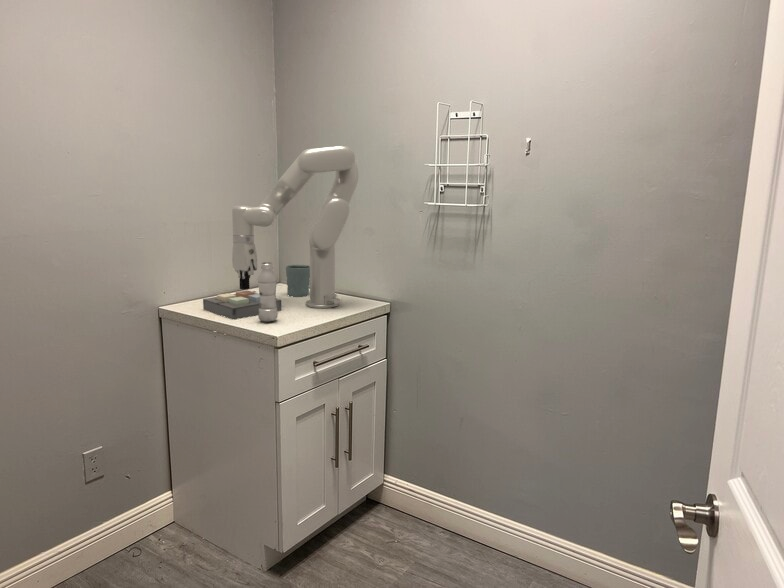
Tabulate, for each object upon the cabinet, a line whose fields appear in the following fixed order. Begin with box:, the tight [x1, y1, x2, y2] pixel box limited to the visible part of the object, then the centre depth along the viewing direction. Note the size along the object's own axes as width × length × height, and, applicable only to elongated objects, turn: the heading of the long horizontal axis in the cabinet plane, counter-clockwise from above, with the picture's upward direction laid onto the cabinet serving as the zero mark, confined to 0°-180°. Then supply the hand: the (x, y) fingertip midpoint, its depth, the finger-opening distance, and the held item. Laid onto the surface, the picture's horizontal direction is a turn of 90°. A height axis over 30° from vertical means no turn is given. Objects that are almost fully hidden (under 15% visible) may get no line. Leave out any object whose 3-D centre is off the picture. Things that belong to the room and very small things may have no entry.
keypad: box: [202, 292, 283, 320], centre depth 212 cm, size 20×20×4 cm
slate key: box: [248, 293, 260, 302], centre depth 212 cm, size 5×5×2 cm
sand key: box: [216, 293, 236, 302], centre depth 212 cm, size 5×5×2 cm
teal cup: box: [285, 264, 310, 298], centre depth 240 cm, size 10×10×12 cm
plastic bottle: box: [256, 261, 279, 323], centre depth 195 cm, size 6×7×20 cm
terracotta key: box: [235, 289, 256, 298], centre depth 217 cm, size 5×5×2 cm
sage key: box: [229, 297, 249, 305], centre depth 206 cm, size 5×5×2 cm
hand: (244, 288), depth 217 cm, fingers closed
